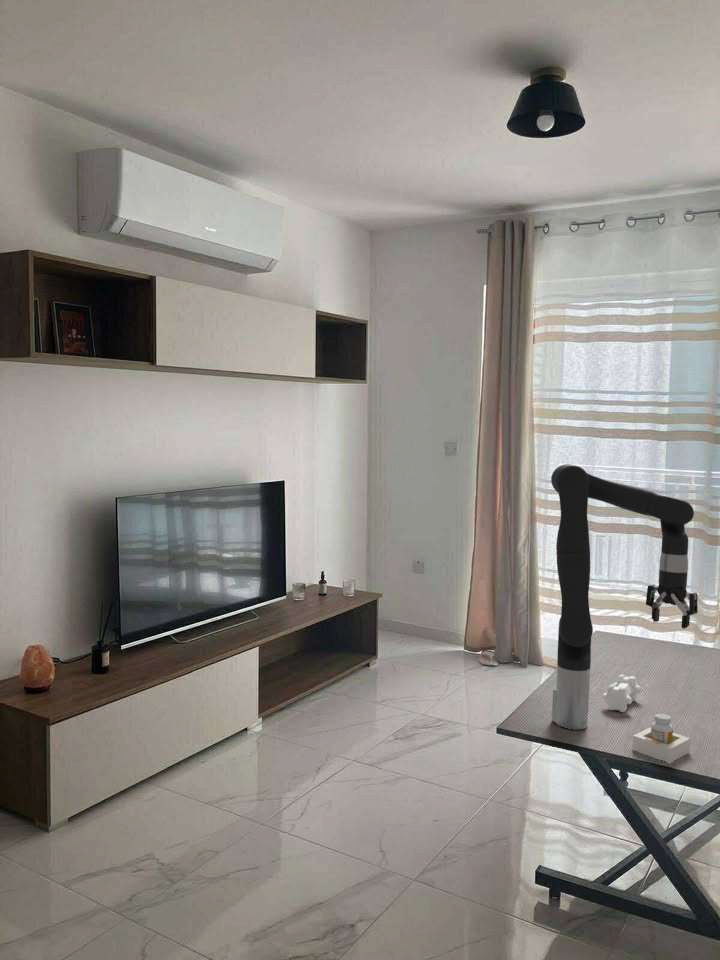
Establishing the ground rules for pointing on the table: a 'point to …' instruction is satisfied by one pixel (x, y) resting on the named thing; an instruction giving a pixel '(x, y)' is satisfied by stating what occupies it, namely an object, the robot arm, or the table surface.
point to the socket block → (661, 746)
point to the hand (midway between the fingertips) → (670, 624)
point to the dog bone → (621, 693)
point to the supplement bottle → (662, 729)
